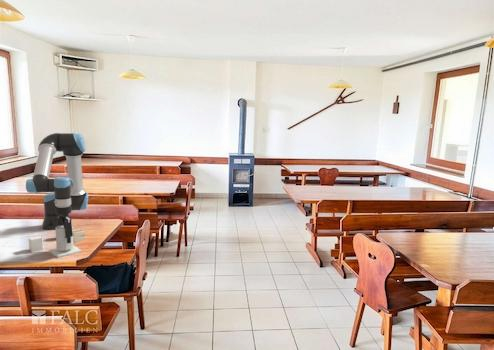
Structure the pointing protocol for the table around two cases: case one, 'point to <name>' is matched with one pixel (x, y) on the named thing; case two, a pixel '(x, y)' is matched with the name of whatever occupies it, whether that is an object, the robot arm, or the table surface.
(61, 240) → the cup
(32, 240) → the offwhite box
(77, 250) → the mat
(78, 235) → the birch block
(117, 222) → the table surface
